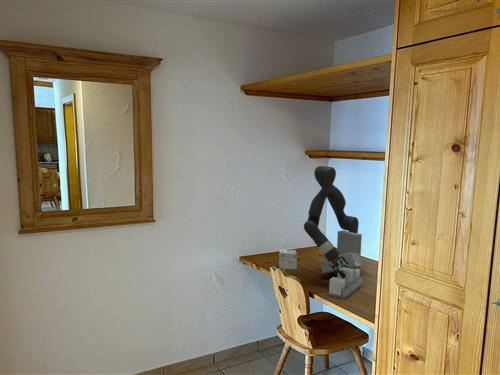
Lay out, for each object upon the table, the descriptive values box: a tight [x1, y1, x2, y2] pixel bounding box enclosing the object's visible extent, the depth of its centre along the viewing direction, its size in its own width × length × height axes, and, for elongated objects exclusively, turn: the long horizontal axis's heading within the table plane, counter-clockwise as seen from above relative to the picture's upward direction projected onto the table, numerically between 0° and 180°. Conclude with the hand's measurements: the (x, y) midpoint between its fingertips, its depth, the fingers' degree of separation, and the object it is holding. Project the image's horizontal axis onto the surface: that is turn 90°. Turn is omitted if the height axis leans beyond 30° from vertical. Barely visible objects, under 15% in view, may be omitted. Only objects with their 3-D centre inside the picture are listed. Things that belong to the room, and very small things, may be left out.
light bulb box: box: [278, 249, 298, 270], centre depth 248 cm, size 11×7×11 cm, turn 92°
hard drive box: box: [319, 253, 363, 274], centre depth 230 cm, size 16×8×20 cm
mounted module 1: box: [328, 276, 345, 296], centre depth 203 cm, size 5×6×7 cm
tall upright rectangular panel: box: [336, 229, 362, 275], centre depth 239 cm, size 14×6×25 cm, turn 41°
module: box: [336, 267, 354, 288], centre depth 212 cm, size 5×7×10 cm
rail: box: [327, 276, 364, 300], centre depth 212 cm, size 26×9×4 cm, turn 144°
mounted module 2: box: [349, 267, 361, 282], centre depth 220 cm, size 5×6×7 cm
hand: (347, 275), depth 211 cm, fingers open, 8 cm apart
